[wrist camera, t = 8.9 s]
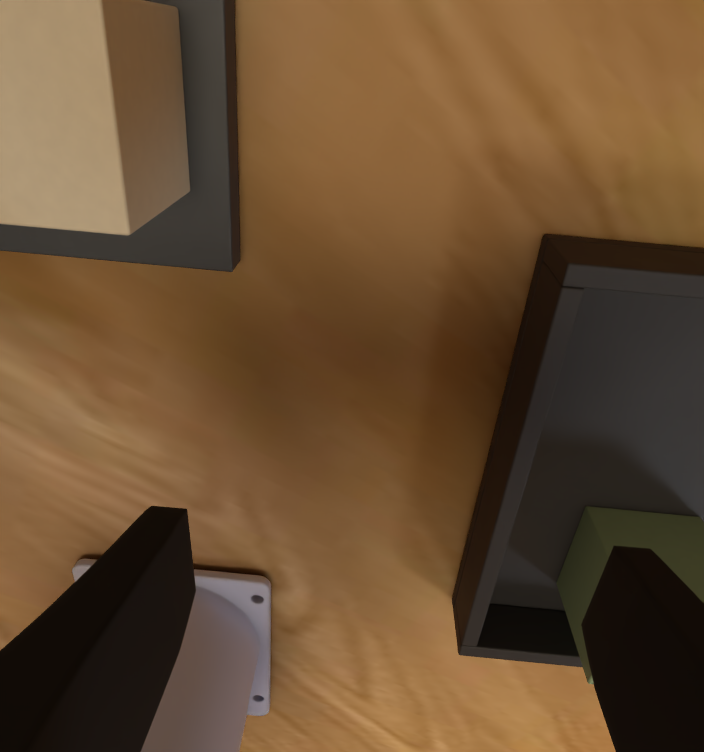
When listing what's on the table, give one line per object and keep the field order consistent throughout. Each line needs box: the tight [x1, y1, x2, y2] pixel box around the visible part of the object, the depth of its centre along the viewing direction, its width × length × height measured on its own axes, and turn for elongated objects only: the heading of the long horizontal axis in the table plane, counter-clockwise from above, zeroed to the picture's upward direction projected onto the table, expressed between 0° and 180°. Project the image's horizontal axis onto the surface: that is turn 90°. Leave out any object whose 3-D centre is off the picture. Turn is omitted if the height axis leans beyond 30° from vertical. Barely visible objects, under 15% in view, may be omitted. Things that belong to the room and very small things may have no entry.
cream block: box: [0, 0, 190, 236], centre depth 12 cm, size 4×4×4 cm
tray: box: [452, 234, 704, 667], centre depth 18 cm, size 15×11×2 cm
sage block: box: [557, 506, 704, 684], centre depth 19 cm, size 4×4×4 cm
